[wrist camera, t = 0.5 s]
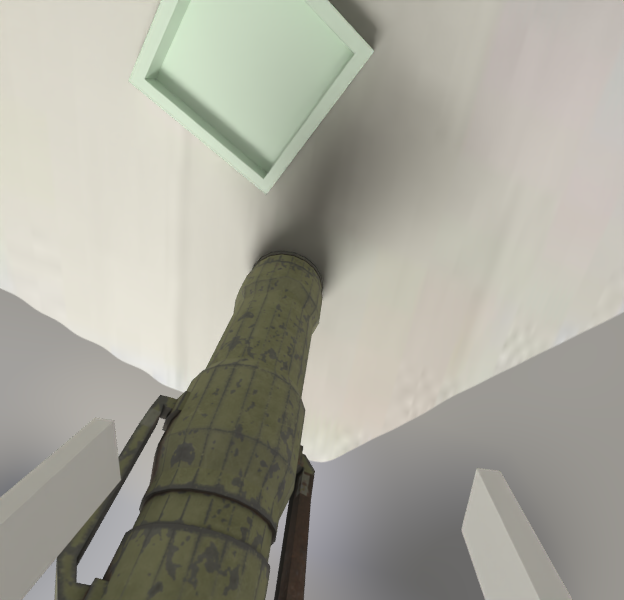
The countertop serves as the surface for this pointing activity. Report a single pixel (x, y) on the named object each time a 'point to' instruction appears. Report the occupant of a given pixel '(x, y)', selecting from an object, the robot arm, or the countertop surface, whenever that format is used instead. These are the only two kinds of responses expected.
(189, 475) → the thermos
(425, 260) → the countertop surface
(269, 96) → the tray
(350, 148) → the countertop surface
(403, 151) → the countertop surface
